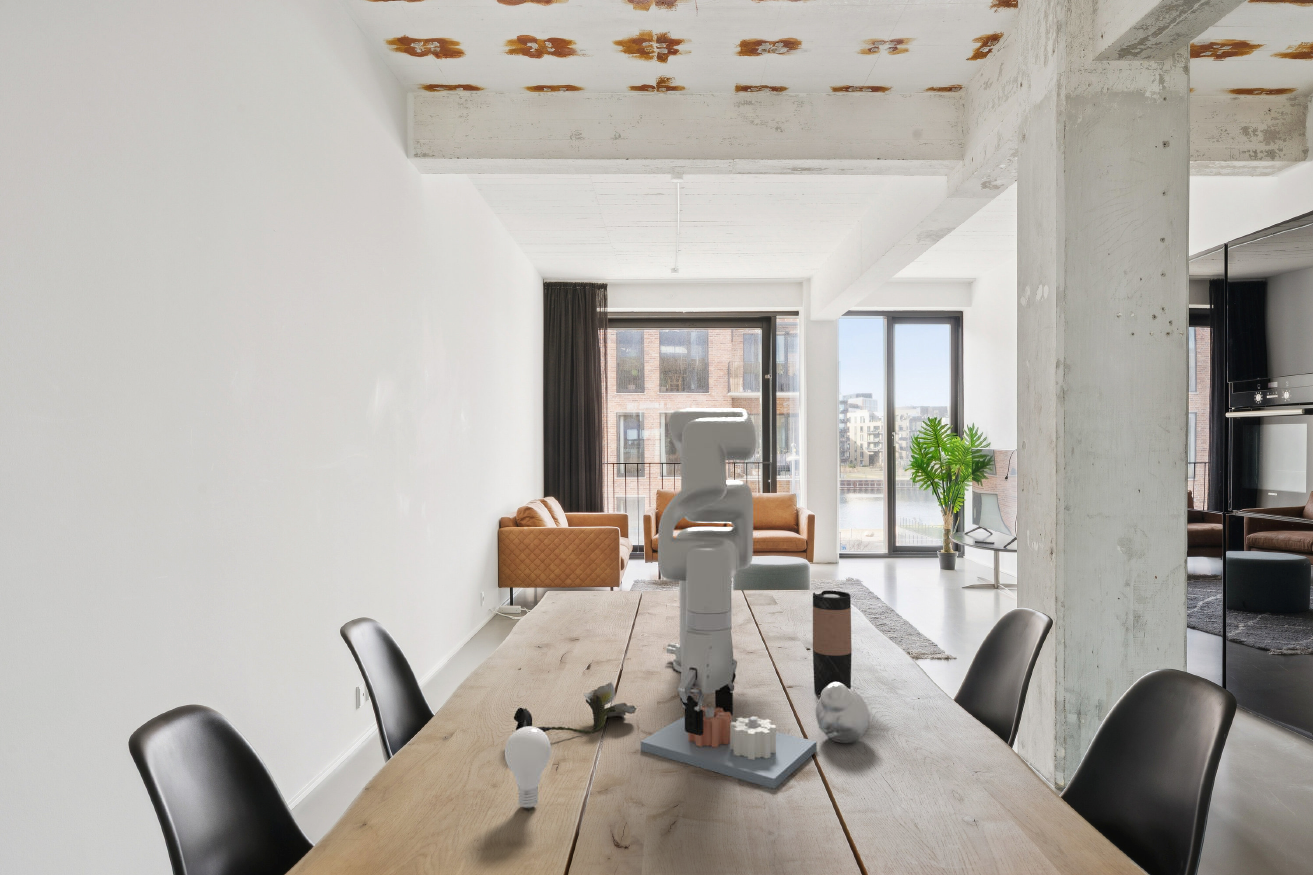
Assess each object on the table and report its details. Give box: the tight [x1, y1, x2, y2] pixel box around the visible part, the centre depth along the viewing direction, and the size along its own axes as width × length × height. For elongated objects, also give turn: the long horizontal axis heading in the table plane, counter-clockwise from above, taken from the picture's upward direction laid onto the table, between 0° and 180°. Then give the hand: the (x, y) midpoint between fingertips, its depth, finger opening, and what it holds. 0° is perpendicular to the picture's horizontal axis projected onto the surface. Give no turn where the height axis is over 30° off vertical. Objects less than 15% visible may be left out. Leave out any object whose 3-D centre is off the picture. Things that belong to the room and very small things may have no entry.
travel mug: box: [812, 589, 853, 697], centre depth 147 cm, size 8×8×20 cm
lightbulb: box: [504, 725, 552, 810], centre depth 101 cm, size 6×6×11 cm
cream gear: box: [730, 716, 777, 760], centre depth 115 cm, size 7×7×4 cm
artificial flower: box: [511, 681, 637, 735], centre depth 127 cm, size 9×22×10 cm, turn 121°
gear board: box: [640, 707, 818, 790], centre depth 119 cm, size 24×16×6 cm, turn 55°
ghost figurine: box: [815, 682, 870, 744], centre depth 123 cm, size 9×10×10 cm
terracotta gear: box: [688, 706, 732, 748], centre depth 120 cm, size 7×7×4 cm
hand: (709, 723), depth 120 cm, fingers open, 9 cm apart
